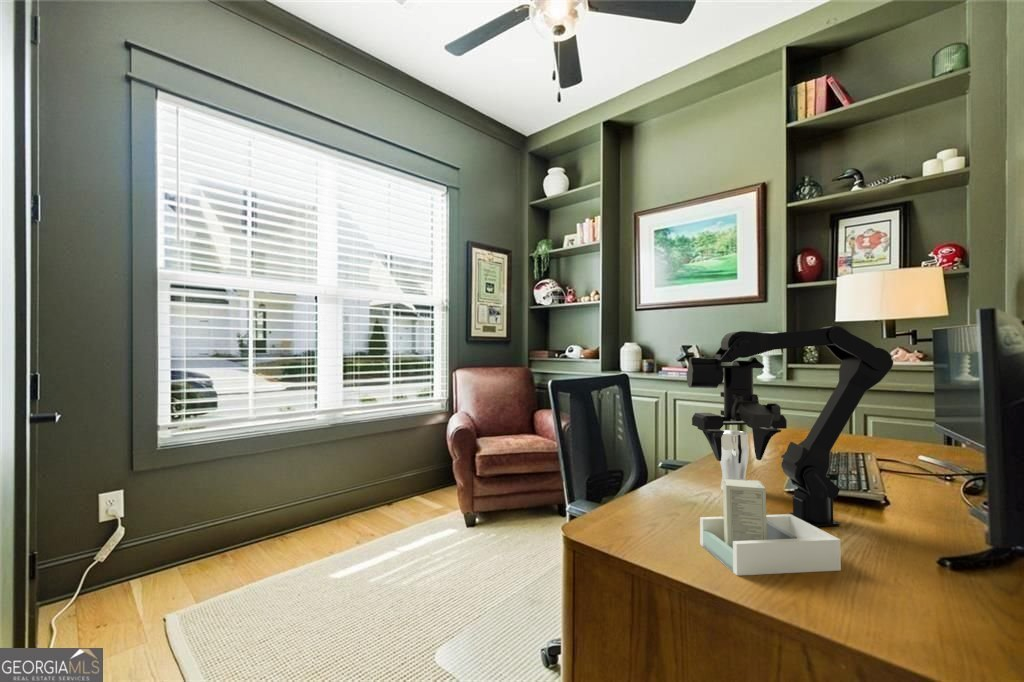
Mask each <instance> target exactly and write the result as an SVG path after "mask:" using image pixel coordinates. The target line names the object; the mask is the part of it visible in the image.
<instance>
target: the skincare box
mask: <svg viewBox="0 0 1024 682" xmlns="http://www.w3.org/2000/svg"><path fill="white" fill-rule="evenodd" d="M766 489H767V488H766V487H765V485H764V484H763V482H762V481H760V480H757V479H754V480H753V479H745V480H741V479H727V478H723V491H722V504H723V505H722V508H723V509H722V511H723V512H722V513H723V516H724V543H726V544H727V545H728V546H730V547H731V548H732V549H733V541H749V540H767V518H766V515H767V490H766Z"/></svg>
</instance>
